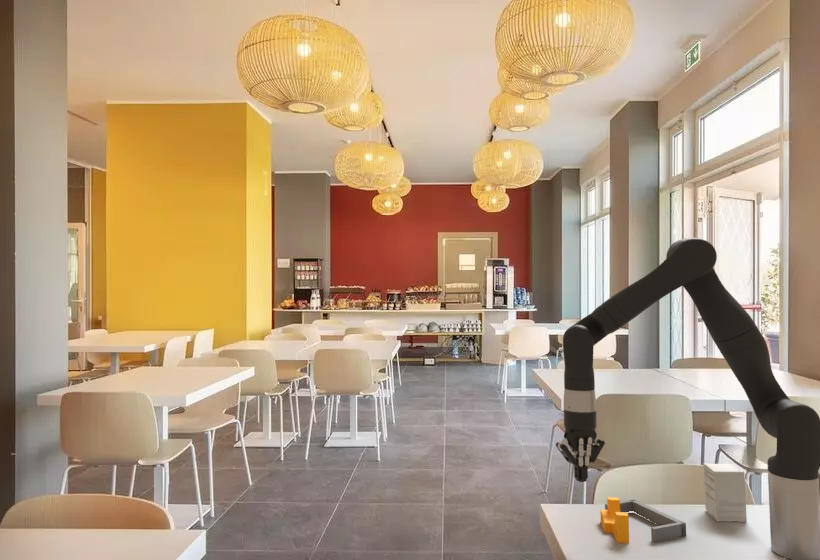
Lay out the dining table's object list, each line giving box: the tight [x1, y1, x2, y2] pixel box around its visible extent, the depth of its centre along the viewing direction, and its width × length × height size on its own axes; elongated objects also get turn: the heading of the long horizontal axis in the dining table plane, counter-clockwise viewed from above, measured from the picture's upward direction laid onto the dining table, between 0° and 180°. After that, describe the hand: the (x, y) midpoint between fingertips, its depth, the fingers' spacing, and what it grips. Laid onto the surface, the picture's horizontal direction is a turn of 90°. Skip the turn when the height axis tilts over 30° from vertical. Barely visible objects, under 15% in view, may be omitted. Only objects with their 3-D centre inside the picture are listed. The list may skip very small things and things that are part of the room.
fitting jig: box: [604, 499, 687, 543], centre depth 135 cm, size 10×17×3 cm, turn 20°
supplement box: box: [703, 462, 748, 523], centre depth 140 cm, size 7×7×13 cm
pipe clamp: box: [600, 496, 630, 544], centre depth 131 cm, size 12×4×6 cm, turn 170°
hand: (581, 480), depth 129 cm, fingers closed
